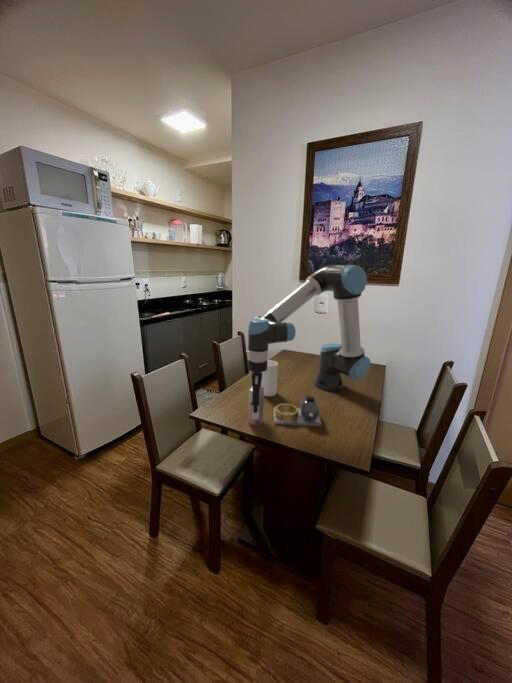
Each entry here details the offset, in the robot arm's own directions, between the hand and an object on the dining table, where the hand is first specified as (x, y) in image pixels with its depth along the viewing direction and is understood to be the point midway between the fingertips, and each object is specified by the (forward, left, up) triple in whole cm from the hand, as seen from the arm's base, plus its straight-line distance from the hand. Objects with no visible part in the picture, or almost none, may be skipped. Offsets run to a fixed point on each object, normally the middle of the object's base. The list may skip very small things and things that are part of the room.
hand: (255, 411), depth 112 cm
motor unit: (-17, -5, -5) cm, 18 cm away
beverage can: (0, 0, -5) cm, 5 cm away
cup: (-5, -28, -5) cm, 29 cm away
